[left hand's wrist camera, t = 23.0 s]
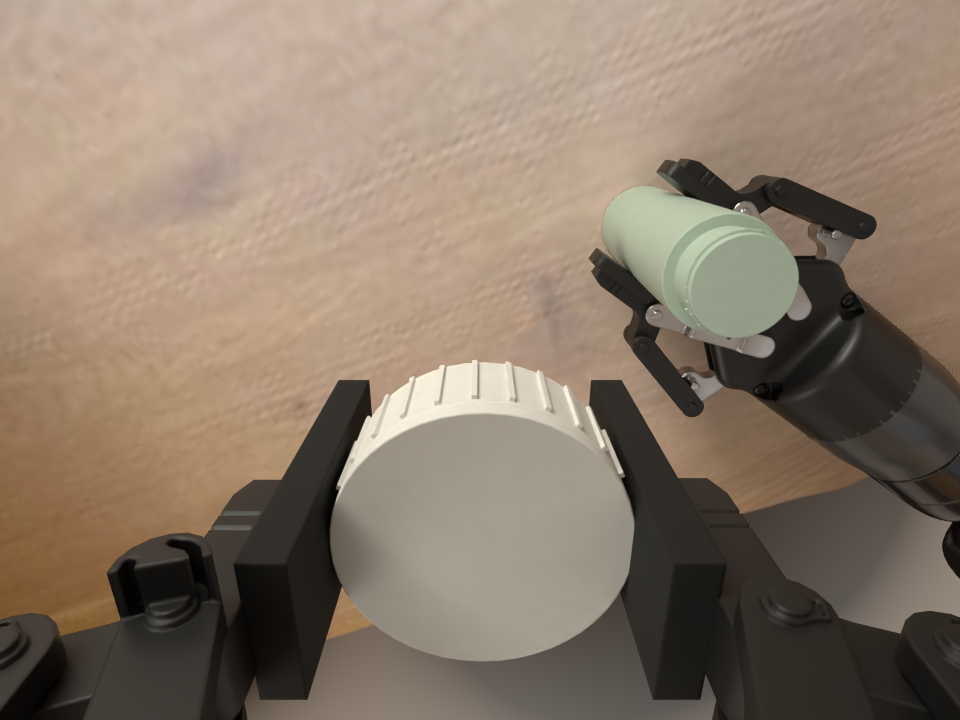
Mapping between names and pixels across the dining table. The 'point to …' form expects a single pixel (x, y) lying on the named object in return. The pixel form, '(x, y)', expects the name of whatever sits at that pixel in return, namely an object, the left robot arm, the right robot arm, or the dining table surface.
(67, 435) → the dining table surface
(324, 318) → the dining table surface
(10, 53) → the dining table surface
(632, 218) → the jar
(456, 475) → the lid
